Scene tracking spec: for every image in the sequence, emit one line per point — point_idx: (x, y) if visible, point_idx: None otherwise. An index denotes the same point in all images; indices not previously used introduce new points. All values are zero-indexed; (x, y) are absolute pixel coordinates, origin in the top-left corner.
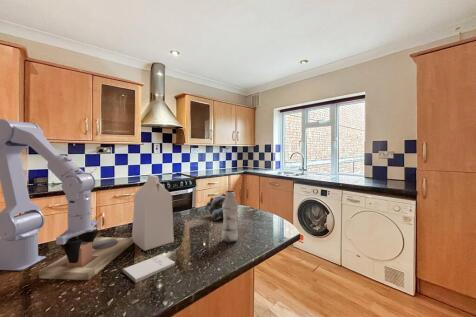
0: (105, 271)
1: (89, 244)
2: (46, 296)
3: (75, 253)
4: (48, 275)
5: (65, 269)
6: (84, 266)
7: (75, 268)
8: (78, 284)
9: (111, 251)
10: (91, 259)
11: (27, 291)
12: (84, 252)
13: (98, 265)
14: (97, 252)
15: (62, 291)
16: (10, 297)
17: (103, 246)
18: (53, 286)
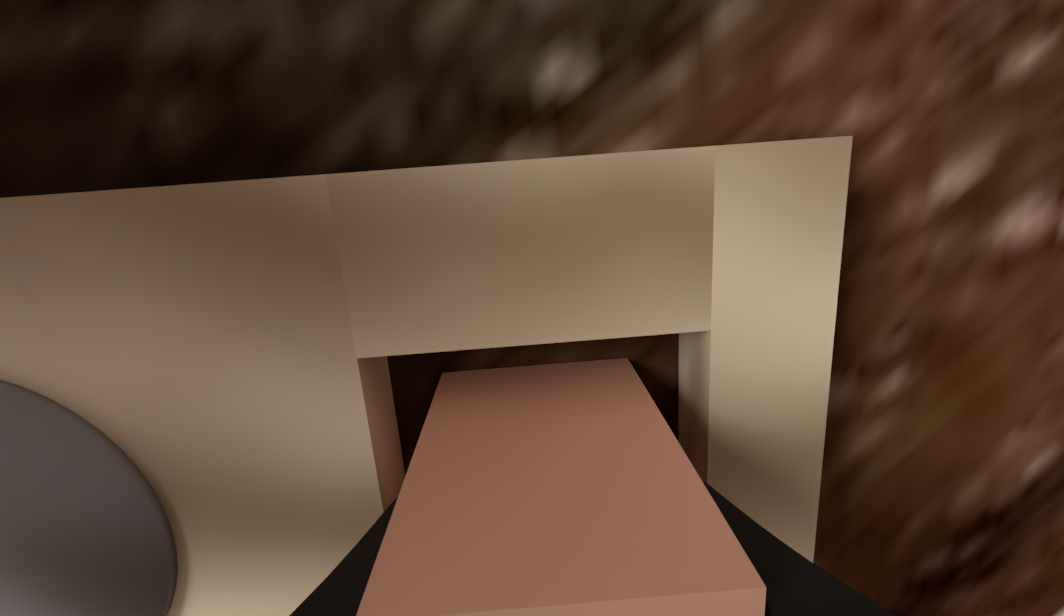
0: (586, 63)
1: (471, 594)
2: (1059, 346)
3: (818, 576)
4: None
5: (763, 500)
6: (677, 331)
7: (737, 405)
8: (877, 194)
9: (162, 265)
10: (451, 400)
11: (959, 561)
12: (624, 498)
13: (622, 153)
14: (264, 456)
15: (994, 262)
16: (1029, 606)
17: (69, 502)
18: (898, 419)
